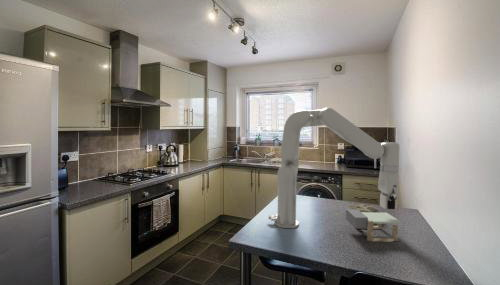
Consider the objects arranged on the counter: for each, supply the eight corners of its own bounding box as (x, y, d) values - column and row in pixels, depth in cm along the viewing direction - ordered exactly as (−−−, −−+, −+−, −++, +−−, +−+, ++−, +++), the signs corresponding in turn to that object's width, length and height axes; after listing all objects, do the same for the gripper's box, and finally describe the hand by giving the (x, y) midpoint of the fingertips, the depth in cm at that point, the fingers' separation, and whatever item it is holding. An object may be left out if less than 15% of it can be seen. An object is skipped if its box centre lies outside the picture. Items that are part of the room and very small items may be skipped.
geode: (349, 221, 149) (351, 226, 135) (343, 206, 151) (344, 209, 137) (378, 214, 145) (384, 218, 131) (372, 198, 147) (376, 200, 133)
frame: (368, 241, 112) (368, 221, 112) (354, 227, 127) (355, 210, 127) (397, 241, 112) (398, 221, 111) (380, 227, 127) (381, 210, 127)
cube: (385, 209, 116) (385, 196, 116) (379, 205, 121) (380, 193, 121) (396, 209, 116) (396, 196, 116) (390, 205, 121) (390, 193, 121)
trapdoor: (355, 228, 114) (355, 217, 113) (345, 218, 126) (346, 209, 125) (400, 229, 113) (401, 218, 113) (386, 219, 125) (387, 209, 125)
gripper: (372, 165, 126) (371, 201, 127) (391, 172, 109) (389, 213, 110) (387, 165, 126) (386, 201, 127) (408, 172, 109) (406, 213, 110)
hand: (387, 206), depth 119 cm, fingers closed on cube, 5 cm apart
